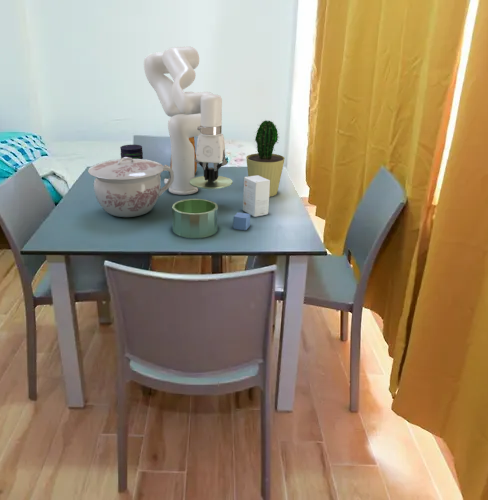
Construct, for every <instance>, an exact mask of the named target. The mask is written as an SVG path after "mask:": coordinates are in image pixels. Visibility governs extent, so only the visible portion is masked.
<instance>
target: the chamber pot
mask: <svg viewBox="0 0 488 500" xmlns="http://www.w3.org/2000/svg"><path fill="white" fill-rule="evenodd" d="M87 171H88V172H87V173H88V174H90V176H92V177H93V178H94V180H93V192H94V196H95V199H96V201H97V203H98V204H99V205H100V207H101V208H102V209H103V211H105V212H106V213H107V214H108V215H111V216H113V217H118V218H135V217H139V216H143V215H146V214H148V213H150V212H151V211H152V210H153V208H154V207H155V205H156V203H157V202H158V200H159V199H160V197H161V196H162V195H163V194H164V192H166V191H167V190H169V187H170V185H171V184H172V182H173V180H174V172H173V170H172V169H171V168H170V165H167V164H164V165H163V164H162V163H160V162H159V161H154V160H151V159H147V158H145V159H144V158H143V159H134V158H129V157H124V158H121V157H120V158H115V159H109V160H104V161H102V162H101V161H100V162H98V163H96V164H92V166H90V167H89V168H88V170H87ZM163 172H168V175H169V177H168V179H169V181H168V182H167V183H166V184H164V186H162V185H161V178H162V177H161V174H162V173H163ZM161 186H162V187H161Z"/></svg>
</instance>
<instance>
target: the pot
mask: <svg viewBox="0 0 488 500" xmlns="http://www.w3.org/2000/svg"><path fill="white" fill-rule="evenodd" d="M218 215H219V206H218V203H216V202H214V201H213V200H209V199H203V198H188V199H181V200H178V201H176V202H174V203H173V204H172V207H171V218H172V232H173V233H174V234H175V235H177V236H178V237H181V238H187V239H203V238H208V237H211V236H214V235H215V234H216V233H217V232H218V222H219V219H218V217H219V216H218Z"/></svg>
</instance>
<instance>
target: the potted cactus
mask: <svg viewBox="0 0 488 500" xmlns="http://www.w3.org/2000/svg"><path fill="white" fill-rule="evenodd" d="M254 133H256V134H254V136H255V137H254V139H253V140H254V141H255V143H256V150H257V151H256V152H257V153H251V154H248V155H246V156H245V158H246V168H247V177H249V176H256V175H259V176H261V177H263V178H266V179H268V180H270V191H269V198H270V197H274V196H276V195H277V194H278V192H279V186H280V182H281V178H282V173H283V169H284V164H285V158H286V157H285V156H283V155H282V154H277V153H274V151H276V150H275V146H276V144H279V142H278V141H280V140H279V135H280V133H279V131H278V128H277V125H276V124H275V123H274V121H272V120H267V119H265V120H262V121H261V123H258V127H257V129H256V132H255V131H254Z"/></svg>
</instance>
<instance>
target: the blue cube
mask: <svg viewBox="0 0 488 500" xmlns="http://www.w3.org/2000/svg"><path fill="white" fill-rule="evenodd" d="M250 226H251V215H250V214H248V213H247V212H236V214H234V216H233V225H232V228H233V230H239V231H247V230H248V229H249V228H250Z"/></svg>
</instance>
